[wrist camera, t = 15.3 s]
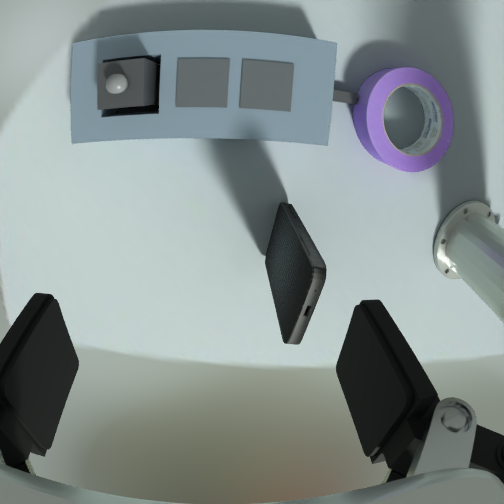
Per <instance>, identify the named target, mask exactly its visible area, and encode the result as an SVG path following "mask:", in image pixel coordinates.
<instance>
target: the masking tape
mask: <svg viewBox="0 0 504 504" xmlns="http://www.w3.org/2000/svg"><path fill="white" fill-rule="evenodd" d="M402 86H403V87H406V88H408V89H409V90H411V91H412V92H413V93H414V94H415V95H416V96H417V97H418V99H419V100H420V102H421V104H422V107H423V110H424V115H425V122H424V127H423V131H422V133H421V135H420V137H419V138H418V139H417V140H416V141H415V142H414V143H413V144H412V145H410V146H408V147H406V148H401V149H398V148H397V147H396V146H394V144H393V143H392V142H391V141H390V139H389V137H388V135H387V133H386V130H385V126H384V109H385V105H386V102H387V100H388V98H389V97H390V95H391V94H392V93H393V92H394V91H395V90H396V89H398V88H400V87H402ZM357 94H358V97H357V105H356V104H354V108H353V120H354V126H355V130H356V133H357V136H358V138H359V140H360V142H361V143H362V145H363V146H364V148H365V149H366V150H367V151H368V152H369V153H370V154H371V155H372V156H373V157H375V158H376V159H378V160H379V161H381V162H384V163H386V164H388V165H390V166H392V167H394V168H396V169H398V170H402V171H406V172H419V171H423V170H426V169H428V168H430V167H432V166H433V165H435V164H436V163H437V162H438V161H439V160H440V159H441V158H442V157H443V155H444V154H445V153H446V151H447V149H448V147H449V145H450V142H451V139H452V135H453V129H454V116H453V109H452V106H451V102H450V100H449V97H448V95H447V93H446V92H445V90H444V88H443V87H442V86H441V84H440V83H439V82H438V81H437V80H436V79H435V78H434V77H432V76H431V75H430V74H428V73H426V72H425V71H422V70H420V69H417V68H412V67H400V68H390V69H384V70H381V71H378V72H376V73H374V74H372V75H371V76H370V77H368V78H367V79H366V80H365V81H364V83H363V84H362V85H361V87H360V88H359V90H358V92H357Z"/></svg>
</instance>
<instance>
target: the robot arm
mask: <svg viewBox="0 0 504 504" xmlns="http://www.w3.org/2000/svg"><path fill="white" fill-rule="evenodd" d="M434 261H435V264H436V267H437V268H438V270H439V271H440V272H441V273H442V274H443V275H444V276H445V277H447V278H450V279H460V278H461V279H462V280H463V281H464V282H465V283H466V284H467V285H468V286H469V287H470V288H471V289H472V290H473V291H474V292H475V293H476V294H477V295H478V296H479V297H480V298H481V299H482V300H483V301H484V302H485V303H486V304H487V305H488V307H489V308H490V309H491V310H492V311H493V312H494V313H495V314H496V315H497V316H498V317H499V319H500V320H501V321H502V322H503V323H504V229H503V228H502V227H500V226H499V225H497V224H496V222H495V217H494V214H493V212H492V211H491V209H490V208H489V207H488V206H487V205H485V204H484V203H482V202H480V201H475V200H473V201H467V202H465V203H462V204H461V205H459V206H457V207H456V208H455V209H454V210H453V211H452V212H451V213H450V214H449V215H448V216H447V217H446V219H445V220H444V222H443V223H442V225H441V227H440V229H439V231H438V234H437V237H436V240H435V244H434ZM78 367H79V361H78V357H77V355H76V352H75V349H74V347H73V344H72V341H71V339H70V336H69V333H68V330H67V327H66V325H65V322H64V319H63V316H62V312H61V309H60V306H59V303H58V301H57V300H56V299H54V297H53V296H52V295H51V294H43V293H35V294H34V295H33V296H32V298H31V299H30V300H29V302H28V303H27V305H26V306H25V307H24V309H23V310H22V312H21V313H20V315H19V316H18V317H17V319H16V320H15V322H14V323H13V325H12V326H11V328H10V329H9V331H8V332H7V334H6V336H5V337H4V339H3V340H2V342H1V343H0V504H184V503H169V502H159V501H150V500H142V499H135V498H128V497H121V496H116V495H110V494H104V493H100V492H95V491H90V490H86V489H82V488H78V487H73V486H70V485H66V484H62V483H59V482H55V481H52V480H48V479H45V478H42V477H39V476H36V474H35V472H34V469H33V467H32V465H31V463H30V460H29V458H28V457H29V454H30V452H31V453H34V454H37V455H41V456H45V454H46V451H47V449H50V448H51V446H52V442H53V440H54V436H55V433H56V430H57V427H58V424H59V420H60V418H61V415H62V412H63V409H64V406H65V403H66V400H67V397H68V394H69V392H70V389H71V386H72V384H73V381H74V378H75V376H76V373H77V370H78ZM336 372H337V376H338V379H339V382H340V384H341V387H342V390H343V393H344V395H345V398H346V401H347V404H348V407H349V410H350V412H351V416H352V418H353V422H354V424H355V427H356V430H357V433H358V436H359V439H360V442H361V445H362V448H363V451H364V454H365V455H366V456H367V457H369V456H370V458H371V461H372V464H374V463H378V462H382V461H386V463H387V465H388V471H387V473H386V475H385V477H384V479H383V481H382V483H381V484H380V485H376V486H372V487H367V488H363V489H358V490H354V491H349V492H344V493H338V494H333V495H328V496H322V497H315V498H309V499H302V500H293V501H283V502H272V503H258V504H504V436H503V435H501V434H499V433H496V432H494V431H491V430H489V429H486V428H484V427H482V426H479V425H477V418H476V415H475V412H474V410H473V409H472V407H471V406H470V405H469V404H468V403H467V402H465V401H463V400H461V399H458V398H454V397H452V398H445V399H443V400H441V401H440V400H439V398H438V394H437V392H436V390H435V388H434V387H433V385H432V383H431V381H430V380H429V378H428V376H427V375H426V373H425V371H424V369H423V368H422V366H421V364H420V363H419V361H418V359H417V358H416V356H415V354H414V353H413V351H412V349H411V348H410V346H409V344H408V343H407V341H406V340H405V338H404V336H403V335H402V333H401V332H400V330H399V328H398V327H397V325H396V324H395V322H394V320H393V319H392V317H391V316H390V314H389V313H388V311H387V310H386V308H385V307H384V305H383V303H382V302H381V301H380V300H363V301H361V302H360V304H359V305H356V306H355V308H354V311H353V315H352V318H351V321H350V324H349V328H348V331H347V334H346V337H345V340H344V343H343V346H342V349H341V352H340V355H339V358H338V361H337V365H336Z"/></svg>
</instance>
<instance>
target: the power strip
mask: <svg viewBox="0 0 504 504" xmlns="http://www.w3.org/2000/svg"><path fill="white" fill-rule="evenodd" d="M336 53H337V43H335V42H330V41H325V40H319V39H313V38H307V37H300V36H292V35H284V34H275V33H265V32H253V31H236V30H173V31H156V32H144V33H134V34H125V35H117V36H110V37H103V38H97V39H91V40H86V41H80V42H75V43H73V49H72V65H71V138H72V144H75V143H85V142H97V141H112V140H129V139H155V138H222V139H249V140H267V141H281V142H294V143H305V144H316V145H325V146H328V139H329V130H330V121H331V111H332V101H337V102H343V103H349V104H356V105H357V97H358V94H356V93H351V92H345V91H339V90H334V79H335V66H336ZM140 58H146V59H148V60H150V61H161V68H160V90H159V111H157V112H136V113H121V114H118V108H112V109H102V110H97V79H98V64H99V63H106V62H113V61H121V60H130V59H140Z"/></svg>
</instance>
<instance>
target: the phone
mask: <svg viewBox="0 0 504 504" xmlns="http://www.w3.org/2000/svg"><path fill="white" fill-rule="evenodd" d="M265 265H266V269H267V274H268V278H269V282H270V287H271V291H272V295H273V300H274V304H275V308H276V313H277V317H278V321H279V326H280V330H281V335H282V339H283V342H284V343H285V344H300V342H301V340H302V338H303V336H304V333H305V331H306V329H307V326H308V324H309V321H310V319H311V316H312V314H313V311H314V309H315V306H316V304H317V301H318V299H319V296H320V294H321V291H322V289H323V286H324V283H325V280H326V265H325V262H324V260H323V259H322V257H321V255H320V253H319V251H318V250H317V248H316V246H315V244H314V242H313V241H312V239H311V237H310V235H309V234H308V232H307V230H306V228H305V227H304V225H303V223H302V221H301V220H300V218H299V216H298V214H297V213H296V211H295V209H294V207H293V206H292V204H287V203H282V202H281V203H280V205H279V208H278V211H277V215H276V219H275V223H274V227H273V230H272V234H271V238H270V242H269V245H268V249H267V253H266V259H265Z"/></svg>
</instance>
